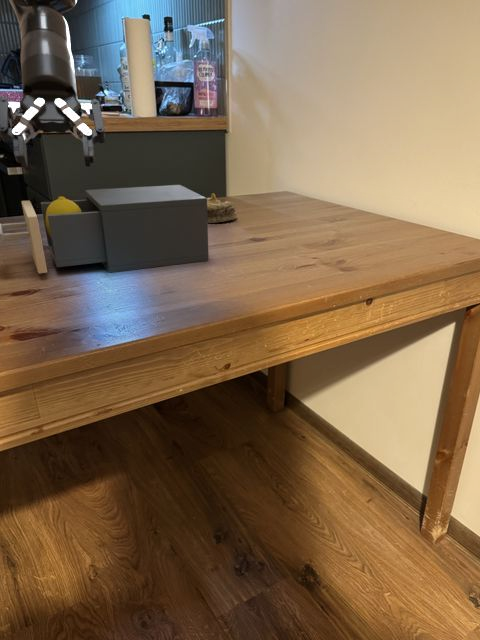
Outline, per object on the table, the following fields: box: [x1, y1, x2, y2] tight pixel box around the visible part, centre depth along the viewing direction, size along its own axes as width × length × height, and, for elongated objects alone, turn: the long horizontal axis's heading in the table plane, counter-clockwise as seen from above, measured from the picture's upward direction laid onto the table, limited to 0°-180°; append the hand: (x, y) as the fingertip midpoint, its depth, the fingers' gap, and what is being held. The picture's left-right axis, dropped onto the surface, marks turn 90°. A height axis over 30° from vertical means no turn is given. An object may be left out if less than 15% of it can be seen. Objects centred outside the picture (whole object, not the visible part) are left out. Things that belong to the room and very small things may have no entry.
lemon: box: [46, 195, 82, 237], centre depth 74 cm, size 6×6×8 cm
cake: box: [206, 192, 238, 224], centre depth 105 cm, size 10×10×5 cm
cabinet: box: [84, 184, 210, 274], centre depth 80 cm, size 16×13×10 cm
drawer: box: [0, 199, 107, 274], centre depth 74 cm, size 19×12×8 cm, turn 117°
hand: (56, 163), depth 71 cm, fingers open, 8 cm apart
